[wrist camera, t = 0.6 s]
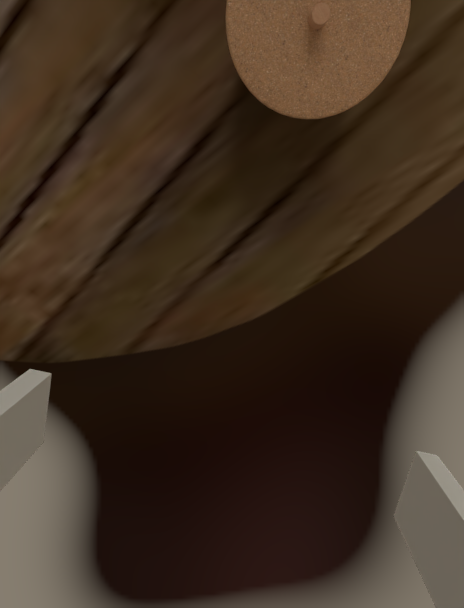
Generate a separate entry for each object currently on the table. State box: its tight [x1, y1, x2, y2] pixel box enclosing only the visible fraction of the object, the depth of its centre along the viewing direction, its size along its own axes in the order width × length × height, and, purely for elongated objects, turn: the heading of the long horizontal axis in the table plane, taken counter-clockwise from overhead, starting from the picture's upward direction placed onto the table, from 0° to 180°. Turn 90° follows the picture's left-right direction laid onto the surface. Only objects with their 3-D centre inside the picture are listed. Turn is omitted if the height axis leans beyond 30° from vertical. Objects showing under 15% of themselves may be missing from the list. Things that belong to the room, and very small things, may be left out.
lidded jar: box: [225, 0, 411, 119], centre depth 27 cm, size 11×11×9 cm
